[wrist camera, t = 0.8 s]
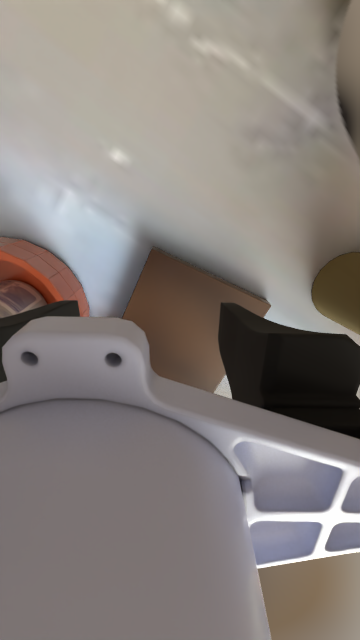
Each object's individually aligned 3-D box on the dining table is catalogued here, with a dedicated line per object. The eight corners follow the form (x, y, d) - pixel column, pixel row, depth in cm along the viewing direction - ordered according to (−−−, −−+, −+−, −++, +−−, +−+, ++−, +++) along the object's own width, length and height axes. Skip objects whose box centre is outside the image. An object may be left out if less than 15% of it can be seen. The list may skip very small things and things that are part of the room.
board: (172, 445, 32) (172, 454, 31) (81, 414, 30) (77, 422, 29) (267, 300, 24) (271, 305, 23) (153, 245, 22) (151, 248, 21)
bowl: (69, 379, 28) (52, 407, 24) (-55, 334, 26) (-94, 357, 22) (108, 275, 23) (94, 290, 20) (-39, 210, 21) (-85, 213, 18)
